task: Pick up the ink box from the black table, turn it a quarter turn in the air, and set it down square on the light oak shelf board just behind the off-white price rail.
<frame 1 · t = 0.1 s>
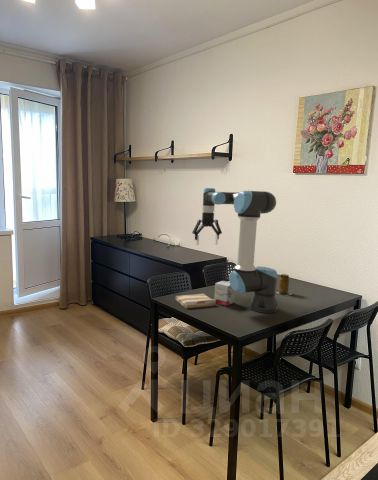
hand: (206, 244, 242), 28 cm above the table, fingers open, 13 cm apart
ink box: (223, 303, 214), on the table
condiment: (284, 293, 237), on the table
shelf board: (195, 302, 212), on the table
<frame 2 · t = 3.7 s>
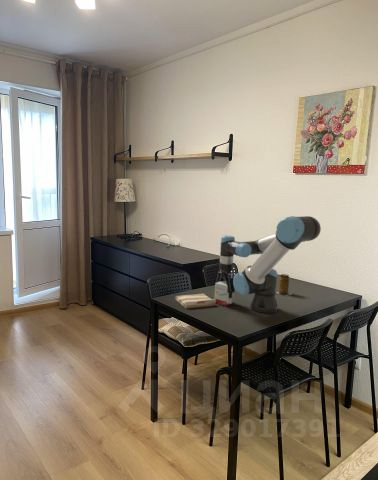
hand: (223, 300, 213), 2 cm above the table, fingers closed on ink box, 11 cm apart
ink box: (223, 303, 214), on the table, touching gripper
everything else where it was.
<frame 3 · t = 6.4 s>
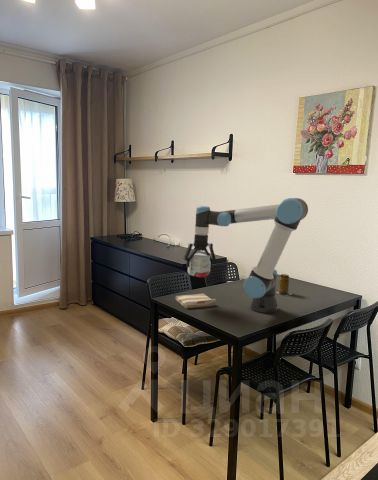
hand: (198, 272, 209), 18 cm above the table, fingers closed on ink box, 11 cm apart
ink box: (198, 275, 210), point 16 cm above the table, touching gripper
everything else where it was.
when the fingers open (5 cm above the table, at t = 9.4 s): ink box drops 1 cm, resting on shelf board.
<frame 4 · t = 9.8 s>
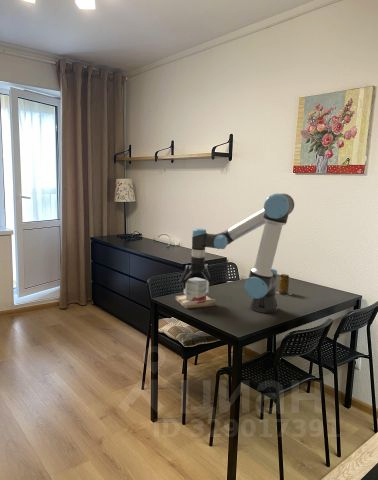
hand: (196, 293, 210), 6 cm above the table, fingers open, 13 cm apart
ink box: (196, 299, 211), point 2 cm above the table, touching shelf board
everything else where it was.
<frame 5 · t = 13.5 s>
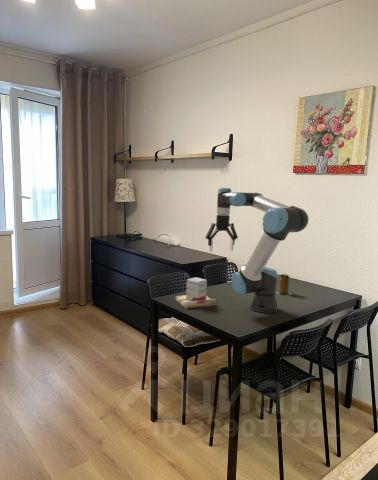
hand: (221, 250, 218), 29 cm above the table, fingers open, 13 cm apart
nothing on the table moved.
at the end: ink box inside the target area (0.1 cm from its centre), point 1.8 cm above the table; ink box tilted 0°; the gripper is holding nothing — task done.
